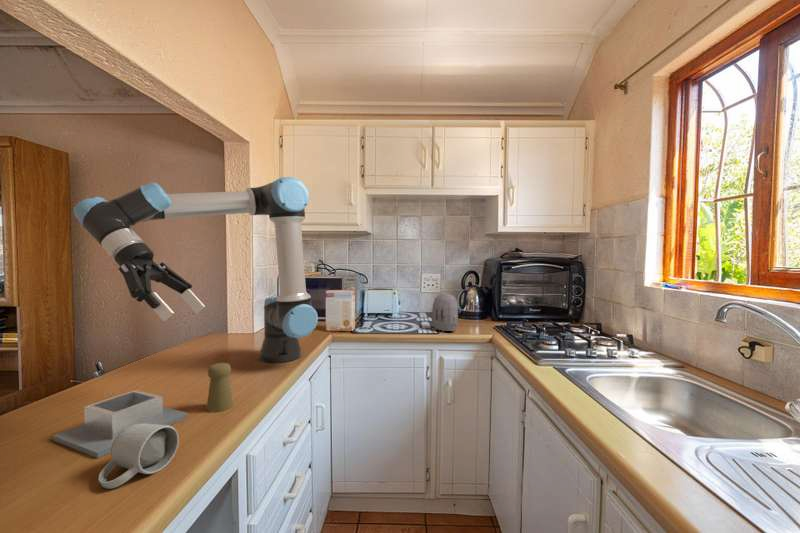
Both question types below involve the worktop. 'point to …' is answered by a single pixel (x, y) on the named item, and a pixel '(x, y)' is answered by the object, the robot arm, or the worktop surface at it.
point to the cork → (219, 388)
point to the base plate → (101, 444)
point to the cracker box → (340, 310)
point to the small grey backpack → (445, 312)
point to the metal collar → (122, 412)
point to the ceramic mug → (140, 452)
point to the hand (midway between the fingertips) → (186, 313)
